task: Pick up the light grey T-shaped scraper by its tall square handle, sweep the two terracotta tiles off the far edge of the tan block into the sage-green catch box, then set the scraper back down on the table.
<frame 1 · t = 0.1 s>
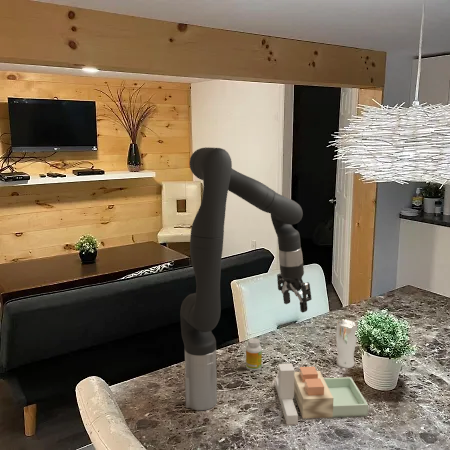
hand: (295, 307, 150), 22 cm above the table, tool pointing down, fingers open, 8 cm apart
catch box: (342, 401, 136), on the table
beer glass: (345, 364, 158), on the table
tile front: (314, 390, 131), point 6 cm above the table, touching tan block
tile back: (308, 378, 138), point 6 cm above the table, touching tan block
tan block: (311, 402, 135), on the table
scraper: (285, 404, 135), on the table
supplement bottle: (253, 367, 157), on the table
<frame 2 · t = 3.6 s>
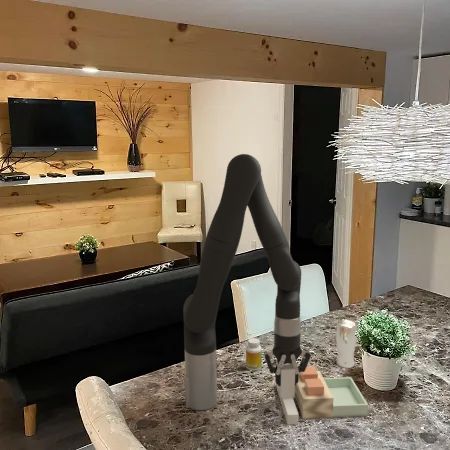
hand: (286, 384, 134), 6 cm above the table, tool pointing down, fingers closed on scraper, 4 cm apart
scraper: (286, 403, 135), on the table, touching gripper
everything else where it was.
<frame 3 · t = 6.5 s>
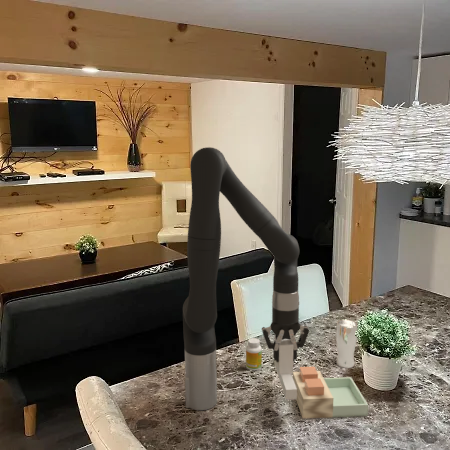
hand: (284, 360, 132), 14 cm above the table, tool pointing down, fingers closed on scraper, 4 cm apart
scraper: (284, 380, 134), point 8 cm above the table, touching gripper
everything else where it was.
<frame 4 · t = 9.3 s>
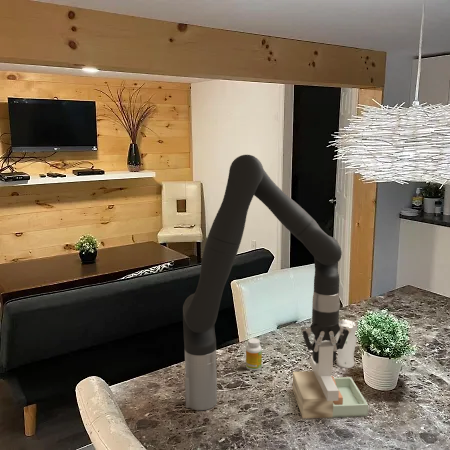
hand: (323, 361, 133), 13 cm above the table, tool pointing down, fingers closed on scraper, 4 cm apart
tile front: (331, 400, 132), point 3 cm above the table, tilted 90°, touching catch box
tile back: (326, 386, 139), point 3 cm above the table, tilted 90°, touching catch box
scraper: (323, 381, 134), point 7 cm above the table, touching gripper
everything else where it was.
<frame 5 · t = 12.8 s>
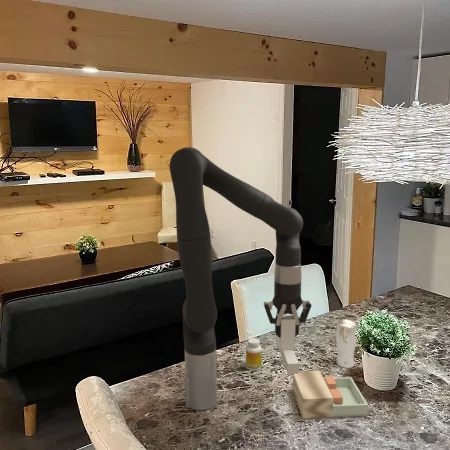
hand: (286, 335, 131), 22 cm above the table, tool pointing down, fingers closed on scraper, 4 cm apart
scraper: (286, 356, 132), point 15 cm above the table, touching gripper
everything else where it was.
when the fingers open (7 cm above the table, at t = 15.6 s): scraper drops 1 cm, on the table.
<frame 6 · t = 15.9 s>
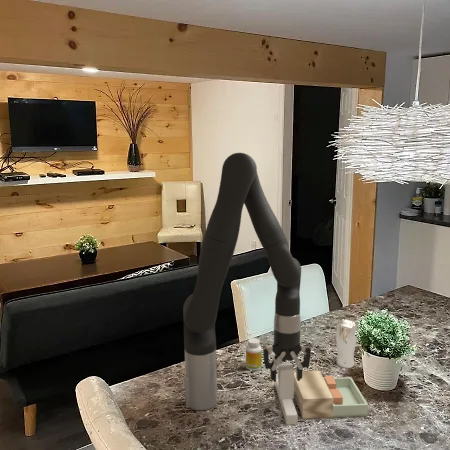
hand: (286, 379, 134), 8 cm above the table, tool pointing down, fingers open, 6 cm apart
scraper: (285, 404, 135), on the table
everything else where it was.
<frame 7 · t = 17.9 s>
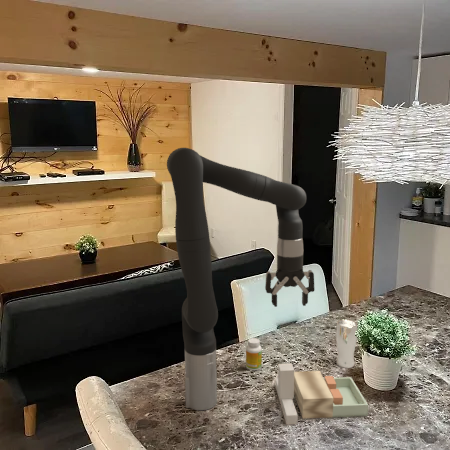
hand: (289, 305, 136), 28 cm above the table, tool pointing down, fingers open, 8 cm apart
nothing on the table moved.
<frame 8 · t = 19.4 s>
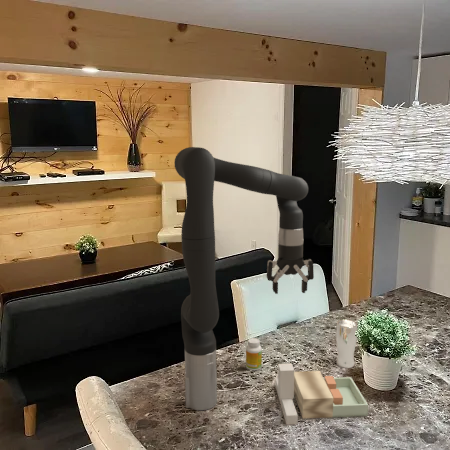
hand: (289, 292, 142), 30 cm above the table, tool pointing down, fingers open, 8 cm apart
nothing on the table moved.
at the end: tile front inside the target area (6.0 cm from its centre), point 2.7 cm above the table; tile back inside the target area (5.5 cm from its centre), point 2.7 cm above the table; the gripper is holding nothing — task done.
